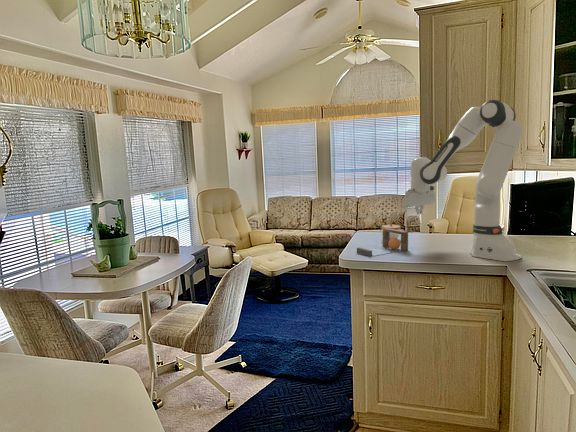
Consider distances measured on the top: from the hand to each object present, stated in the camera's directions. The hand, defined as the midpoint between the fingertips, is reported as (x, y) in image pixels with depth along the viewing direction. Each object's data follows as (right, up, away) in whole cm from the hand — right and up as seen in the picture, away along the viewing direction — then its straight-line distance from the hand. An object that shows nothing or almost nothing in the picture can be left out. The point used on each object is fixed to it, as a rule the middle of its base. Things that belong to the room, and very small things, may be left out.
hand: (419, 213), depth 232 cm
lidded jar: (-11, -15, +17) cm, 25 cm away
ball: (-16, -15, -8) cm, 23 cm away
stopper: (-32, -20, -16) cm, 41 cm away
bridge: (-15, -18, -6) cm, 24 cm away
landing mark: (-26, -19, -13) cm, 35 cm away
